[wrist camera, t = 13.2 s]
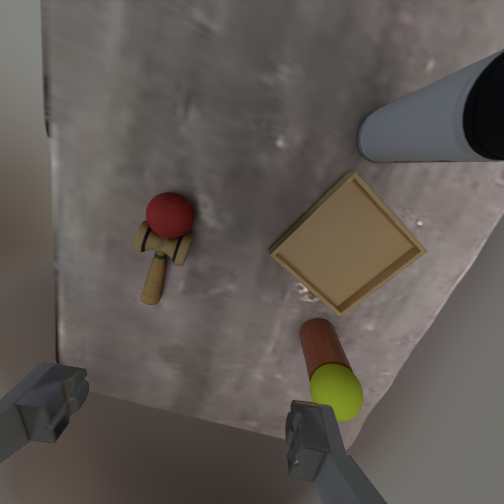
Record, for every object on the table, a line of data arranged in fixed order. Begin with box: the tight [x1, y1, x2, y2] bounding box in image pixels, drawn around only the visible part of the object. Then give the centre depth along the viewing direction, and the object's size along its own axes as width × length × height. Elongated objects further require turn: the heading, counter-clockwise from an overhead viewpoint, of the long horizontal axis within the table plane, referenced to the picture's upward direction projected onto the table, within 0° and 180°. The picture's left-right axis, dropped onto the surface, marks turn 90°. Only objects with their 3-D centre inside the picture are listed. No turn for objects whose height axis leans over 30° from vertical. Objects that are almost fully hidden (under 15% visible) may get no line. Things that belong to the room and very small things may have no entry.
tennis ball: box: [310, 363, 363, 421], centre depth 30 cm, size 6×6×6 cm
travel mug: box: [357, 49, 504, 163], centre depth 20 cm, size 6×7×20 cm
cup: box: [300, 319, 354, 382], centre depth 36 cm, size 6×6×9 cm
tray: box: [270, 171, 427, 318], centre depth 33 cm, size 15×15×2 cm
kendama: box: [133, 192, 194, 305], centre depth 34 cm, size 8×6×18 cm
